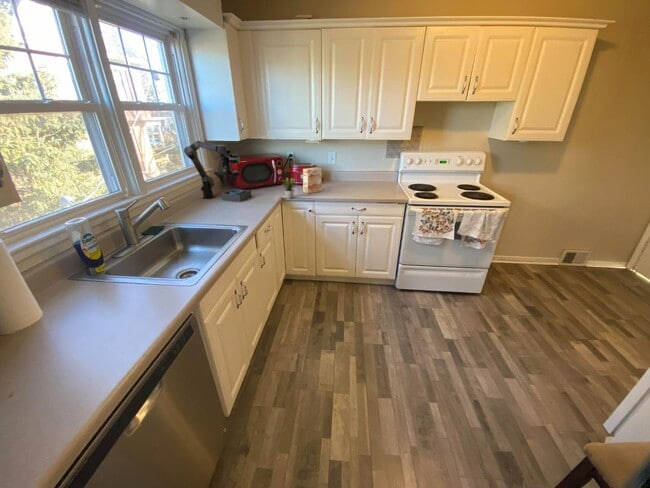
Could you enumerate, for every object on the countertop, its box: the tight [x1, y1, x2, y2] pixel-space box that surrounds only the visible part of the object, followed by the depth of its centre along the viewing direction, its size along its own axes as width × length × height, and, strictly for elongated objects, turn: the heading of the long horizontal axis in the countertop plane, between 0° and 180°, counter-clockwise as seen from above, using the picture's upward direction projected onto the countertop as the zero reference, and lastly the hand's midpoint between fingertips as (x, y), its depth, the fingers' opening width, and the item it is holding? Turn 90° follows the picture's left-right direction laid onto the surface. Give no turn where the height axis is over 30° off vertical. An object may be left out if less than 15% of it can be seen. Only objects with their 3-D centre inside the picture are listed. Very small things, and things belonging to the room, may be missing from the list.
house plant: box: [282, 177, 298, 200], centre depth 216 cm, size 14×14×16 cm
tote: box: [221, 188, 252, 203], centre depth 217 cm, size 16×16×5 cm
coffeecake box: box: [302, 166, 323, 195], centre depth 235 cm, size 15×7×20 cm, turn 129°
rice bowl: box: [229, 189, 244, 195], centre depth 216 cm, size 10×10×5 cm
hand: (228, 184), depth 213 cm, fingers open, 9 cm apart
